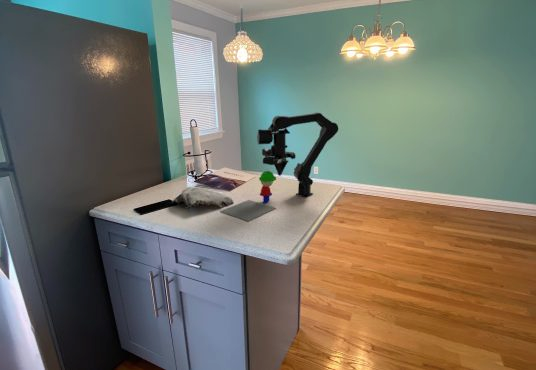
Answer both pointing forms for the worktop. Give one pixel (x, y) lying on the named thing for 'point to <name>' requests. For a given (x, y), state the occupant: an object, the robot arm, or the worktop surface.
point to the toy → (266, 185)
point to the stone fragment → (202, 197)
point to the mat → (248, 210)
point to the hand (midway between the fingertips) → (279, 175)
